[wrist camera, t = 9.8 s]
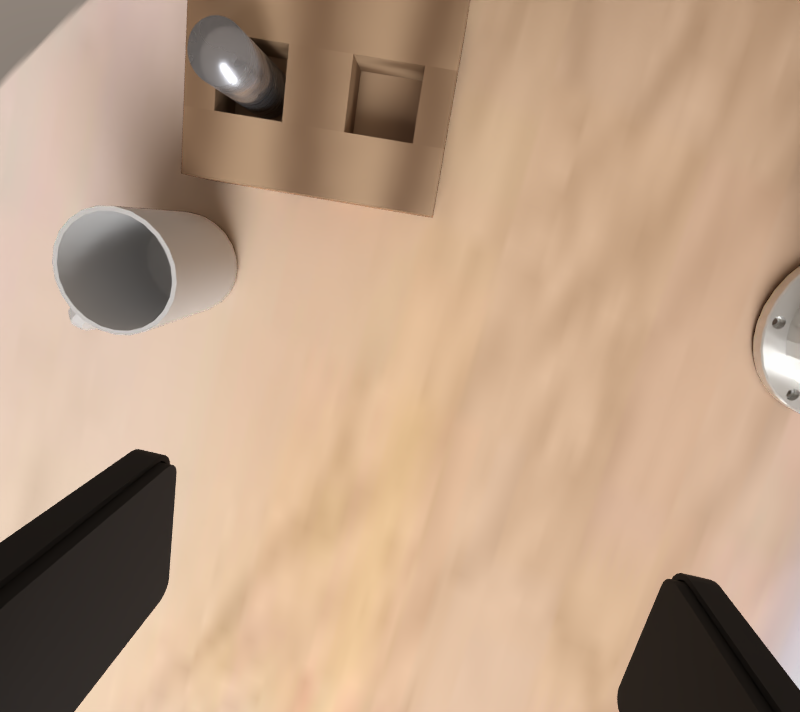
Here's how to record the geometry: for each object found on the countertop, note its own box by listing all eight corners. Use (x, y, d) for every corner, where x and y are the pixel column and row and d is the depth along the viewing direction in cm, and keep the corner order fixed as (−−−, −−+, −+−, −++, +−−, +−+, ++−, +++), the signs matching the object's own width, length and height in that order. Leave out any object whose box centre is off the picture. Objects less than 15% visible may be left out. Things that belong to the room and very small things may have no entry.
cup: (259, 273, 35) (202, 287, 26) (164, 348, 37) (83, 384, 28) (195, 190, 34) (113, 177, 25) (101, 273, 36) (-5, 286, 27)
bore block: (466, 23, 30) (471, -8, 26) (432, 217, 33) (432, 215, 29) (220, -16, 30) (189, -52, 26) (210, 179, 33) (181, 173, 30)
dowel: (292, 67, 30) (249, 18, 23) (289, 121, 31) (246, 89, 24) (244, 62, 30) (187, 11, 24) (242, 116, 31) (186, 82, 24)
